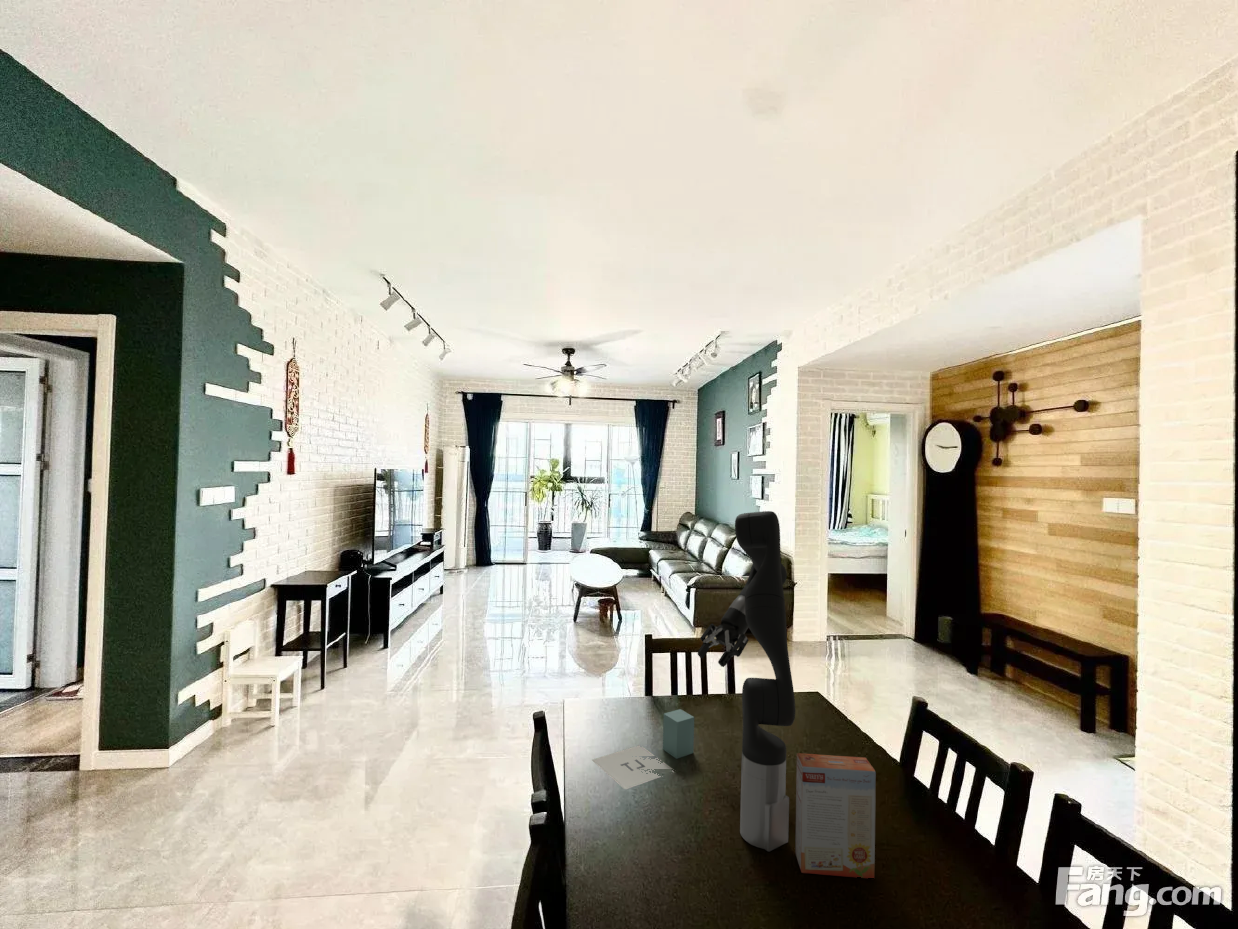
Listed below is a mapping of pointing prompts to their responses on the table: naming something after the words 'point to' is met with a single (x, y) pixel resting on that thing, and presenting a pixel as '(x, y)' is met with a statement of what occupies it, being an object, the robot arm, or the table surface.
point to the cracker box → (835, 815)
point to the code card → (630, 766)
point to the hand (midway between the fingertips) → (709, 660)
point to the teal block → (678, 733)
